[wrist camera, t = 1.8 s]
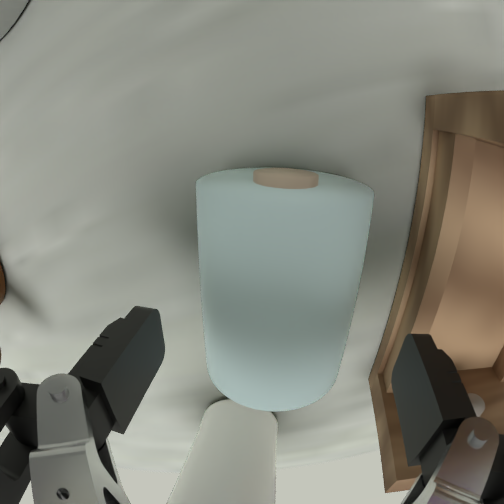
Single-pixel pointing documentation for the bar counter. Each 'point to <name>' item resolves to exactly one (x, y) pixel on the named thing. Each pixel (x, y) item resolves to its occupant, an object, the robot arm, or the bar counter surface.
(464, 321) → the roll holder
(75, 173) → the bar counter surface
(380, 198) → the bar counter surface
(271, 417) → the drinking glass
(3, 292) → the mug
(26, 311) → the bar counter surface
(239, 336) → the paper roll
